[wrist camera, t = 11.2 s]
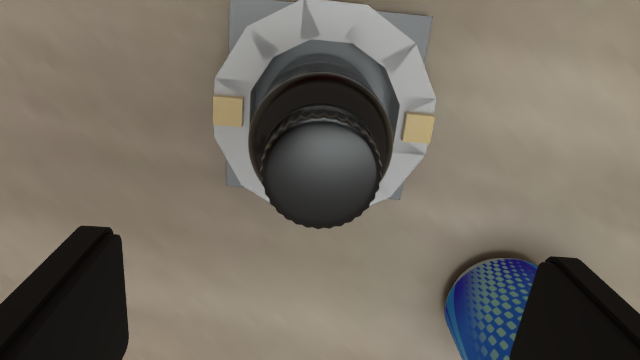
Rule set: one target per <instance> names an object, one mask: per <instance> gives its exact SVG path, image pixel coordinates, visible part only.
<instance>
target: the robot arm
mask: <svg viewBox="0 0 640 360" xmlns="http://www.w3.org/2000/svg"><path fill="white" fill-rule="evenodd" d="M128 339H129V333H128V319H127V306H126V293H125V280H124V266H123V253H122V241H121V237H120V236H119V235H116V234H113V231H112V229H111V228H110V227H96V226H80V227H78V228H77V229H76V230H75V231H74V232H73V233H72V234H71V235H70V236H69V237H68V238H67V239H66V240H65V241H64V242H63V243H62V244H61V245H60V246H59V247H58V248H57V249H56V250H55V251H54V252H53V253H52V254H51V255H50V256H49V257H48V258H47V259H46V260H45V261H44V262H43V263H42V264H41V265H40V266H39V267H38V268H37V269H36V270H35V271H34V272H33V273H32V274H31V275H30V276H29V277H28V278H27V279H26V280H25V281H24V282H23V283H21V284H20V285H19V286H18V287H17V288H16V289H15V290H14V291H13V292H12V293H11V294H10V295H9V296H8V297H7V298H6V299H5V300H4V301H3V302H2V303H1V304H0V360H122V358H123V356H124V354H125V352H126V349H127V345H128ZM509 360H640V314H639V313H638V312H637V311H636V310H635V309H633V308H632V307H631V306H630V305H629V304H628V303H627V302H626V301H625V300H624V299H622V298H621V297H620V296H619V295H618V294H617V293H616V292H615V291H614V290H613V289H611V288H610V287H609V286H608V285H607V284H606V283H605V282H604V281H603V280H602V279H600V278H599V277H598V276H597V275H596V274H595V273H594V272H593V271H592V270H591V269H589V268H588V267H587V266H586V265H585V264H584V263H583V262H582V261H581V260H579V259H577V258H567V257H552V256H551V257H549V258H547V260H546V261H545V262H542V263H540V264H539V266H538V268H537V271H536V274H535V277H534V280H533V283H532V286H531V289H530V293H529V296H528V299H527V302H526V305H525V308H524V311H523V315H522V318H521V321H520V324H519V327H518V330H517V333H516V336H515V340H514V343H513V346H512V349H511V352H510V359H509Z"/></svg>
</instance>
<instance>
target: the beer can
mask: <svg viewBox="0 0 640 360" xmlns="http://www.w3.org/2000/svg"><path fill="white" fill-rule="evenodd" d="M537 268H538V266H536V265H534V264H533V263H530V262H528V261H524V260H520V259H513V258H494V259H488V260H484V261H481V262H479V263H476V264H474V265H473V266H471V267H469V268H468V269H467V270H465V271H464V272H463V273H462V274H461V275H460V276H459V277H458V279H457V280H456V281H455V283H454V285H453V287H452V289H451V290H450V292H449V294H448V297H447V300H446V304H445V318H446V322H447V325H448V327H449V330H450V332H451V334H452V337H453V339H454V341H455V344H456V346H457V348H458V351H459V353H460V355H461V358H462V360H509V359H510V352H511V349H512V346H513V343H514V340H515V336H516V333H517V330H518V327H519V324H520V321H521V318H522V315H523V311H524V308H525V305H526V302H527V299H528V296H529V293H530V289H531V286H532V283H533V280H534V277H535V274H536V271H537Z"/></svg>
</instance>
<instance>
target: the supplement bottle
mask: <svg viewBox="0 0 640 360" xmlns="http://www.w3.org/2000/svg"><path fill="white" fill-rule="evenodd" d="M248 151H249V157H250V160H251V164H252V167H253V169H254V172H255V174H256V176H257V177H258V179H259V181H260V182H261V184H262V185H263V187H264V188H265V195H266V196H267V197H268V198H269V200H270V204H271V205H273V206H274V207H275V208H276V210H277V212H278V213H280V214H283V215H284V217H285V218H286V219H288V220H292V221H293V222H294V223H295V224H299V225H300V224H301V225H303V226H305V227H307V228H308V227H314V228H317V229H321V228H329V229H330V228H332V227H334V226H342V225H343V224H344V223H348V222H351V221H352V220H353V219H354V218H355V217H358V216H360V215H361V214H362V212H363V211H364V210H366V209H367V208H369V205H370V202H372V201H373V200H374V199H375V194H376V192H377V191H378V190H379V188H380V187H379V184H380V182H381V181H382V179H383V178H384V176H385V174H386V172H387V170H388V167H389V165H390V161H391V158H392V152H393V133H392V128H391V124H390V120H389V118H388V115H387V113H386V111H385V109H384V107H383V105H382V103H381V102H380V100H379V99H378V97H377V95H376V94H375V92H374V91H373V89H372V88H371V86H370V84H369V83H368V81H367V80H366V78H365V77H364V76H363V75H362V73H361V72H360V71H359V70H358V69H357V68H355V67H354V66H353V65H352V64H350V63H349V62H347V61H345V60H343V59H341V58H338V57H335V56H331V55H323V54H317V55H309V56H305V57H302V58H300V59H297V60H295V61H293V62H292V63H290V64H289V65H287V66H286V67H285V68H284V69H282V70H281V71H280V73H279V74H278V75H277V76H276V77H275V79H274V80H273V82H272V83H271V85H270V87H269V88H268V90H267V92H266V94H265V95H264V97H263V99H262V100H261V102H260V104H259V105H258V107H257V109H256V111H255V113H254V116H253V119H252V121H251V125H250V129H249V135H248Z"/></svg>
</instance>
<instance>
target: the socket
mask: <svg viewBox="0 0 640 360" xmlns="http://www.w3.org/2000/svg"><path fill="white" fill-rule="evenodd" d="M432 18H433V17H430V16H420V15H410V14H401V13H391V12H381V11H375V10H373V9H372V8H371V7H370V6H368V5H367V4H355V3H346V2H336V1H327V0H299V1H297V2H285V1H276V0H230V20H229V56H228V58H227V59H226V61H225V63H224V64H223V66H222V67H221V69H220V71H219V72H218V74H217V75H216V77H215V91H214V96H213V125H214V137H215V139H216V141H217V143H218V145H219V146H220V148H221V150H222V152H223V153H224V155H225V157H226V159H227V171H226V186H233V187H245V188H247V189H249V190H250V191H252V192H253V193H255V194H257V195H258V196H260V197H261V198H263V199H265V200H266V201H268V202H269V203H270V200H269V198H268V197H267V196H266V195H265V188H264V187H263V185H262V184H261V182H260V181H259V179H258V177H257V176H256V174H255V172H254V169H253V167H252V164H251V160H250V157H249V151H248V135H249V129H250V125H251V121H252V119H253V116H254V113H255V111H256V109H257V107H258V105H259V104H260V102H261V100H262V99H263V97H264V95H265V94H266V92H267V90H268V88H269V87H270V85H271V83H272V82H273V80H274V79H275V77H276V76H277V75H278V74H279V73H280V71H281V70H282V69H284V68H285V67H286V66H287V65H289V64H290V63H292V62H293V61H295V60H297V59H300V58H302V57H305V56H309V55H317V54H323V55H331V56H335V57H338V58H341V59H343V60H345V61H347V62H349V63H350V64H352V65H353V66H354V67H355V68H357V69H358V70H359V71H360V72H361V73H362V75H363V76H364V77H365V78H366V80H367V81H368V83H369V84H370V86H371V88H372V89H373V91H374V92H375V94H376V95H377V97H378V99H379V100H380V102H381V103H382V105H383V107H384V109H385V111H386V113H387V115H388V118H389V120H390V124H391V128H392V133H393V152H392V158H391V161H390V165H389V167H388V170H387V172H386V174H385V176H384V178H383V179H382V181H381V182H380V184H379V187H380V188H379V190H378V191H377V192H376V194H375V199H374V200H373V201H372V202H370V205H372V204H375V203H377V202H380V201H382V200H384V199H395V200H400V197H401V191H402V186H403V181H404V180H405V179H406V178H407V176H408V175H409V174H410V173H411V172H412V170H413V169H414V168H415V167H416V166H417V164H418V163H419V162H420V161H421V160H422V158H423V157H424V156H425V155H426V149H427V144H430V140H431V135H432V130H433V125H434V120H435V116H434V115H433V113H434V108H435V103H436V97H435V95H434V92H433V89H432V86H431V83H430V81H429V78H428V75H427V72H426V69H425V67H424V62H425V57H426V51H427V46H428V40H429V34H430V29H431V23H432ZM370 205H369V206H370Z"/></svg>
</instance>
